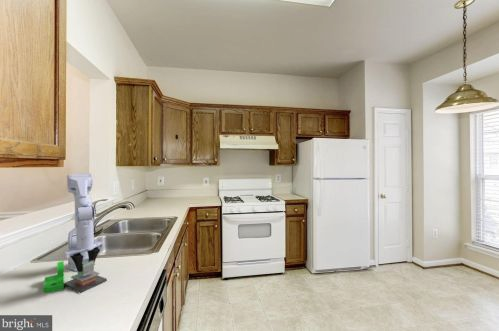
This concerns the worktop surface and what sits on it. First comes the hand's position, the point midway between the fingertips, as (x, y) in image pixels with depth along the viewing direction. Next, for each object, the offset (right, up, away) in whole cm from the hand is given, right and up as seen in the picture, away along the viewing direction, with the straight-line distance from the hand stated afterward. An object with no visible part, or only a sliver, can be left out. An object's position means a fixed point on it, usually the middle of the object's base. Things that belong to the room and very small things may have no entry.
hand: (85, 269), depth 97 cm
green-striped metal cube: (0, -2, 0) cm, 2 cm away
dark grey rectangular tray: (0, -6, 0) cm, 6 cm away
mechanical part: (-12, -6, -1) cm, 13 cm away
